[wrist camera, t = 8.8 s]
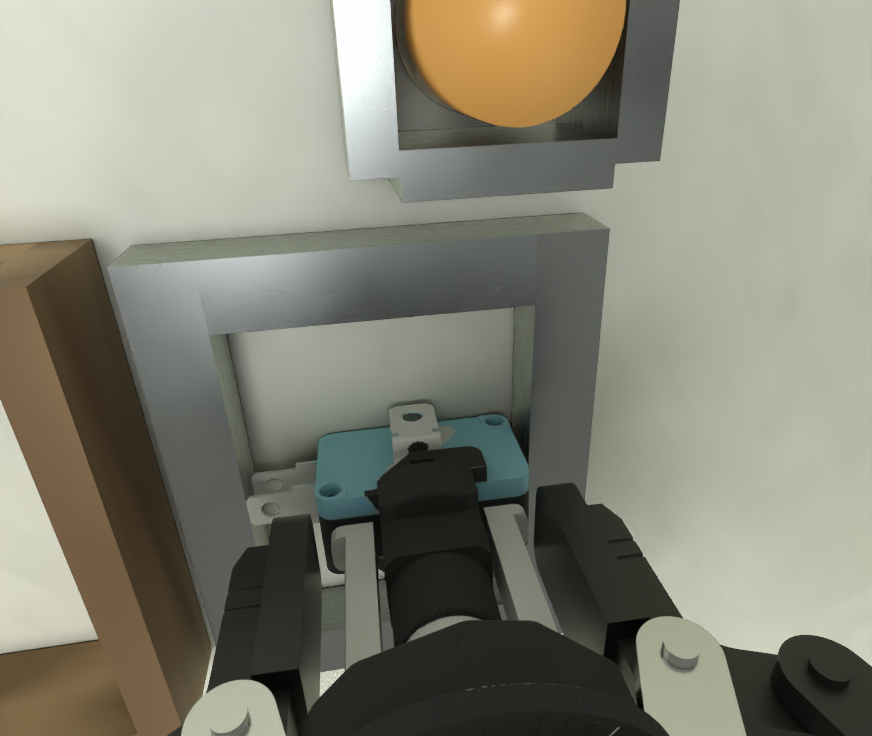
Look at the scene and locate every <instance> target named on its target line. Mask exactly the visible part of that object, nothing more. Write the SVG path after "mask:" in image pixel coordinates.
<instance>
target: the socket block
mask: <svg viewBox="0 0 872 736" xmlns="http://www.w3.org/2000/svg"><path fill="white" fill-rule="evenodd" d="M609 231H610V229H609V228H608V227H606V226H604V225H602V224H601V223H599V222H597V221H596V220H594V219H592V218H590V217H589V216H587V215H585V214H583V213H573V214H559V215H545V216H532V217H518V218H504V219H491V220H477V221H463V222H450V223H436V224H423V225H409V226H395V227H382V228H368V229H354V230H341V231H327V232H313V233H300V234H286V235H273V236H259V237H245V238H232V239H218V240H204V241H191V242H177V243H164V244H150V245H136V246H130V247H129V248H128V249H127V250H126V251H124V252H123V253H122V254H121V255H120V256H119V257H118V258H117V259H116V260H115V261H114V262H112V263H111V264H110V265H109V266H108V267H107V270H108V273H109V276H110V280H111V283H112V287H113V290H114V294H115V297H116V301H117V304H118V308H119V311H120V315H121V318H122V322H123V325H124V329H125V332H126V336H127V339H128V342H129V346H130V349H131V353H132V356H133V360H134V363H135V367H136V370H137V374H138V377H139V381H140V384H141V388H142V391H143V395H144V398H145V402H146V405H147V409H148V412H149V415H150V419H151V422H152V426H153V429H154V433H155V436H156V440H157V443H158V447H159V450H160V454H161V457H162V461H163V464H164V468H165V471H166V475H167V478H168V482H169V485H170V488H171V492H172V495H173V499H174V502H175V506H176V509H177V513H178V516H179V520H180V523H181V527H182V530H183V534H184V537H185V541H186V544H187V548H188V551H189V554H190V558H191V561H192V565H193V568H194V572H195V575H196V579H197V582H198V586H199V589H200V593H201V596H202V600H203V603H204V607H205V610H206V614H207V617H208V621H209V624H210V627H211V631H212V634H213V638H214V641H215V645H216V646H217V642H218V637H219V632H220V627H221V622H222V617H223V614H224V607H225V603H226V598H227V595H228V588H229V583H230V578H231V573H232V568H233V567H234V566H235V564H236V563H237V561H238V560H239V559H240V557H241V556H242V554H243V553H244V552H245V550H246V549H247V548H248V547H256V546H264V545H269V538H268V533H267V528H266V524H263V525H253V524H252V523H251V522H250V517H249V513H248V509H247V505H246V499H247V498H248V497H249V496H255V492H254V488H253V483H252V479H251V477H252V475H253V474H254V473H255V470H254V466H253V461H252V456H251V451H250V446H249V441H248V437H247V432H246V427H245V422H244V417H243V413H242V408H241V403H240V398H239V393H238V388H237V384H236V379H235V374H234V369H233V364H232V359H231V355H230V350H229V345H228V340H227V335H226V334H229V333H240V332H251V331H262V330H272V329H283V328H294V327H305V326H316V325H327V324H338V323H348V322H359V321H370V320H381V319H392V318H403V317H413V316H424V315H435V314H446V313H457V312H468V311H479V310H489V309H500V308H511V307H515V319H514V360H513V402H512V432H513V434H514V436H515V438H516V440H517V442H518V444H519V447H520V449H521V451H522V453H523V455H524V457H525V459H526V462H527V464H528V466H529V517H528V543H527V545H526V549H527V552H528V554H529V557H530V560H531V562H532V565H533V568H534V570H535V573H536V575H537V578H538V581H539V583H540V586H541V589H542V591H543V594H544V596H545V599H546V602H547V604H548V607H549V610H550V612H551V615H552V618H553V620H554V623H555V625H556V628H557V631H558V633H563V632H562V629H561V627H560V624H559V622H558V619H557V617H556V614H555V612H554V609H553V607H552V604H551V602H550V599H549V597H548V594H547V591H546V589H545V586H544V584H543V581H542V579H541V576H540V574H539V571H538V568H537V564H536V559H535V553H534V523H535V503H536V491H537V488H538V487H539V486H546V485H555V484H563V483H571V482H572V483H574V484H575V485H576V486H577V488H578V490H579V492H580V493H581V495H582V497H583V499H584V500H585V489H586V478H587V467H588V457H589V446H590V435H591V424H592V414H593V403H594V392H595V381H596V371H597V360H598V349H599V338H600V328H601V317H602V306H603V295H604V285H605V274H606V263H607V252H608V242H609ZM262 511H263V509H262ZM493 590H494V594H495V597H496V601H497V604H498V608H499V611H500V615H501V618H502V620H507V617H506V613H505V610H504V607H503V603H502V600H501V597H500V593H499V590H498V586H497V583H496V580H495V576H494V573H493ZM379 593H380V609H381V624H382V639H383V651H386V650H388V649H391V648H394V640H393V628H392V627H391V623H390V615H389V606H388V598H387V590H386V581H385V580H380V581H379ZM343 668H345V586H339V587H332V588H325V589H322V617H321V654H320V672H324V671H331V670H337V669H343Z"/></svg>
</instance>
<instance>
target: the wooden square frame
mask: <svg viewBox="0 0 872 736" xmlns="http://www.w3.org/2000/svg"><path fill="white" fill-rule="evenodd" d="M0 399H1V402H2V404H3V407H4V409H5V412H6V414H7V416H8V419H9V421H10V424H11V426H12V429H13V431H14V433H15V436H16V438H17V441H18V443H19V446H20V448H21V451H22V453H23V455H24V458H25V460H26V463H27V465H28V468H29V470H30V472H31V475H32V477H33V480H34V482H35V485H36V487H37V490H38V492H39V494H40V497H41V499H42V502H43V504H44V507H45V509H46V512H47V514H48V516H49V519H50V521H51V524H52V526H53V529H54V531H55V533H56V536H57V538H58V541H59V543H60V546H61V548H62V551H63V553H64V555H65V558H66V560H67V563H68V565H69V568H70V570H71V572H72V575H73V577H74V580H75V582H76V585H77V587H78V590H79V592H80V594H81V597H82V599H83V602H84V604H85V607H86V609H87V611H88V614H89V616H90V619H91V621H92V624H93V626H94V629H95V631H96V633H97V636H98V638H99V640H98V641H91V642H85V643H78V644H71V645H65V646H58V647H51V648H44V649H38V650H31V651H24V652H18V653H11V654H4V655H0V736H167V735H169V734H170V733H171V732H173V731H174V730H176V729H177V728H179V727H180V726H181V725H182V724H183V723H184V722H185V719H186V717H187V715H188V713H189V712H190V710H191V709H192V708H193V706H194V705H195V704H196V703H197V702H198V701H199V699H200V698H202V695H203V690H204V685H205V680H206V675H207V670H208V665H209V660H210V655H211V650H212V649H211V645H210V642H209V638H208V635H207V631H206V628H205V625H204V621H203V618H202V614H201V611H200V608H199V604H198V601H197V597H196V594H195V591H194V587H193V584H192V580H191V577H190V574H189V570H188V567H187V563H186V560H185V556H184V553H183V550H182V546H181V543H180V539H179V536H178V533H177V529H176V526H175V522H174V519H173V516H172V512H171V509H170V505H169V502H168V498H167V495H166V492H165V488H164V485H163V481H162V478H161V475H160V471H159V468H158V464H157V461H156V458H155V454H154V451H153V447H152V444H151V440H150V437H149V434H148V430H147V427H146V423H145V420H144V417H143V413H142V410H141V406H140V403H139V400H138V396H137V393H136V389H135V386H134V382H133V379H132V376H131V372H130V369H129V365H128V362H127V359H126V355H125V352H124V348H123V345H122V342H121V338H120V335H119V331H118V328H117V325H116V321H115V318H114V314H113V311H112V307H111V304H110V301H109V297H108V294H107V290H106V287H105V284H104V280H103V277H102V273H101V270H100V267H99V263H98V260H97V256H96V253H95V249H94V246H93V243H92V239H82V240H68V241H54V242H40V243H26V244H12V245H0Z"/></svg>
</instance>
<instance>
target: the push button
mask: <svg viewBox="0 0 872 736" xmlns="http://www.w3.org/2000/svg"><path fill="white" fill-rule="evenodd" d="M388 412H389V420H390V427H384V428H375V429H366V430H358V431H349V432H340V433H332V434H328V435H325V436H324V437H322V438H320V440H319V442H318V456H317V460H315V461H306V462H298V463H296V468H291V469H283V470H274V471H266V472H257V473H254V474H253V475H252V477H251V479H252V483H253V488H254V492H255V496H249V497H248V498H247V499H246V505H247V509H248V513H249V517H250V522H251V523H252V524H253V525H263V524H271V523H272V520H273V518H277V517H285V516H294V515H302V514H310V515H311V518H312V523H319V522H320V526H321V532H322V538H323V544H324V550H325V556H326V562H327V567H328V569H329V570H330V571H331V572H333V573H336V574H344V573H345V672H344V673H343V674H342V675H341V676H340V677H339V678H338V679H337V680H336V681H335V682H334V683H333V684H332V685H331V686H330V687H329V689H328V690H327V691H326V692H325V693H324V694H323V695H322V696H321V697H320V698H319V699H318V700H317V701H316V702H315V703H314V704H313V706H312V707H311V709H310V711H309V715H308V723H307V732H306V736H670V735H669V734H668V733H667V732H666V730H665V729H664V728H663V727H662V725H661V724H660V723H659V722H657V721H656V720H655V719H654V718H653V717H652V716H651V715H649V714H648V713H646V712H645V711H643V710H642V709H640V708H639V707H637V706H636V704H635V701H634V699H633V697H632V695H631V693H630V691H629V688H628V686H627V684H626V682H625V680H624V677H623V675H622V673H621V671H620V669H619V667H618V666H617V665H616V663H615V662H613V661H612V660H610V659H608V658H606V657H604V656H602V655H600V654H598V653H596V652H594V651H592V650H591V649H589V648H587V647H585V646H583V645H581V644H579V643H577V642H575V641H573V640H571V639H569V638H567V637H566V636H564V635H562V634H560V633H558V631H557V628H556V625H555V623H554V620H553V618H552V615H551V612H550V610H549V607H548V604H547V602H546V599H545V596H544V594H543V591H542V589H541V586H540V583H539V581H538V578H537V575H536V573H535V570H534V568H533V565H532V562H531V560H530V557H529V554H528V552H527V549H526V545H527V543H528V517H529V466H528V464H527V462H526V459H525V457H524V455H523V453H522V451H521V449H520V447H519V444H518V442H517V440H516V438H515V436H514V434H513V432H512V429H511V426H510V424H509V422H508V420H507V419H506V418H505V417H504V416H502V415H499V414H488V415H479V416H478V417H472V418H463V419H454V420H446V421H437V419H436V415H435V411H434V407H433V405H430V404H427V403H422V404H413V405H404V406H395V407H393V408H392V409H390V410H389V411H388ZM411 413H417V414H420V415H422V418H421V419H419V420H417V421H405V420H404V419H403V417H404V416H405V415H407V414H411ZM271 479H278V480H280V481H281V482H282V483H283V488H281V489H280V490H277V491H272V490H270V489H269V488H268V487H267V485H266V483H267V482H268V481H269V480H271ZM266 503H275V504H277V505H278V506H279V509H280V510H279V512H278V513H276V514H273V515H268V514H266V513H264V512H263V511H262V506H263V505H264V504H266ZM378 569H380V570H382V571H384V573H385V581H386V590H387V598H388V606H389V615H390V623H391V627H392V628H393V640H394V648H391V649H388V650H386V651H383V639H382V624H381V609H380V593H379V578H378ZM493 573H494V576H495V580H496V583H497V586H498V590H499V593H500V597H501V600H502V603H503V607H504V610H505V613H506V617H507V620H502V618H501V615H500V611H499V608H498V604H497V601H496V597H495V594H494V590H493Z"/></svg>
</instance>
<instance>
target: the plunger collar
mask: <svg viewBox="0 0 872 736" xmlns="http://www.w3.org/2000/svg"><path fill="white" fill-rule="evenodd" d="M330 3H331V13H332V23H333V33H334V44H335V54H336V64H337V74H338V85H339V95H340V105H341V115H342V126H343V136H344V146H345V156H346V161H347V166H348V171H349V177H350V180H364V179H380V178H389V179H390V181H391V183H392V185H393V187H394V189H395V190H396V192H397V194H398V196H399V198H400V200H401V202H402V203H404V202H418V201H433V200H448V199H462V198H477V197H491V196H506V195H521V194H535V193H550V192H564V191H579V190H594V189H608V188H613V178H614V168H615V164H617V163H633V162H649V161H660V156H661V148H662V140H663V132H664V124H665V116H666V108H667V100H668V92H669V84H670V76H671V68H672V59H673V51H674V43H675V35H676V27H677V19H678V11H679V3H680V0H626V11H625V18H624V24H623V29H622V33H621V36H620V40H619V43H618V46H617V48H616V51H615V54H614V56H613V58H612V60H611V62H610V64H609V66H608V68H607V70H606V71H605V73H604V75H603V76H602V78H601V79H600V81H599V82H598V83H597V85H596V86H595V87H594V88H593V90H592V91H591V92H590V93H589V94H588V95H587V96H586V97H585V98H584V99H583V100H582V101H581V102H580V103H578V104H577V105H576V106H575V107H573V108H572V109H571V110H569V111H568V112H566V113H564V114H563V115H561V116H559V117H557V123H547V124H538V125H534V126H528V127H504V126H492V127H473V128H454V129H436V130H417V131H399V132H398V126H397V109H396V93H395V76H394V59H393V42H392V25H391V9H390V0H330Z"/></svg>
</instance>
